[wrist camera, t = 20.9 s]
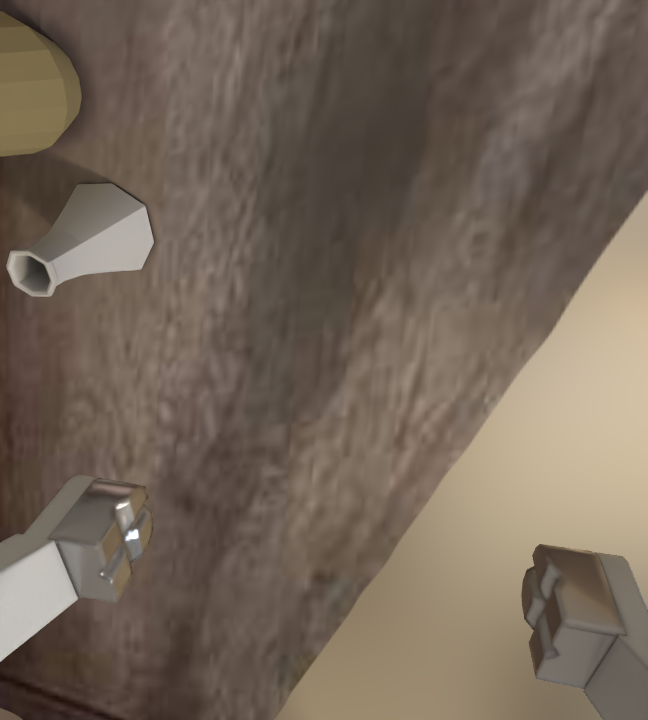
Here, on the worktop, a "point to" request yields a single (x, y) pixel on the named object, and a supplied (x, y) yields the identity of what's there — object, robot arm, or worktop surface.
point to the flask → (85, 240)
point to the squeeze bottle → (33, 89)
